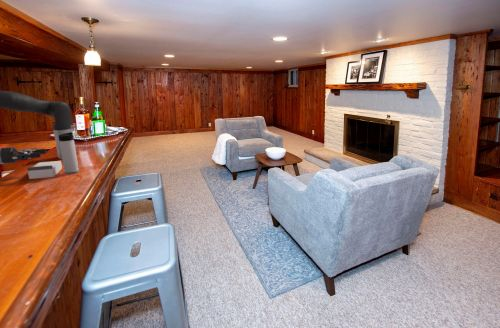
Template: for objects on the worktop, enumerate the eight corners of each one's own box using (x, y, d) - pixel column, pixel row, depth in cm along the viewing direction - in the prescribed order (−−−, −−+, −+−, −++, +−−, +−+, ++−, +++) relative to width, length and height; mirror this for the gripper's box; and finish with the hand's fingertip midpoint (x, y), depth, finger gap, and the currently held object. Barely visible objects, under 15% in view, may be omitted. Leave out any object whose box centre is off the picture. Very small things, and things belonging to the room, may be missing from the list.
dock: (40, 169, 155) (38, 159, 154) (62, 168, 158) (60, 158, 157) (29, 179, 140) (27, 167, 139) (53, 176, 143) (51, 165, 142)
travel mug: (82, 171, 152) (76, 132, 147) (71, 174, 146) (64, 134, 141) (73, 170, 154) (66, 131, 149) (61, 173, 148) (54, 134, 143)
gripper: (-6, 151, 131) (36, 148, 136) (7, 144, 144) (46, 142, 149) (-2, 167, 133) (40, 164, 138) (11, 159, 146) (49, 157, 151)
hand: (43, 153), depth 144 cm, fingers open, 8 cm apart
